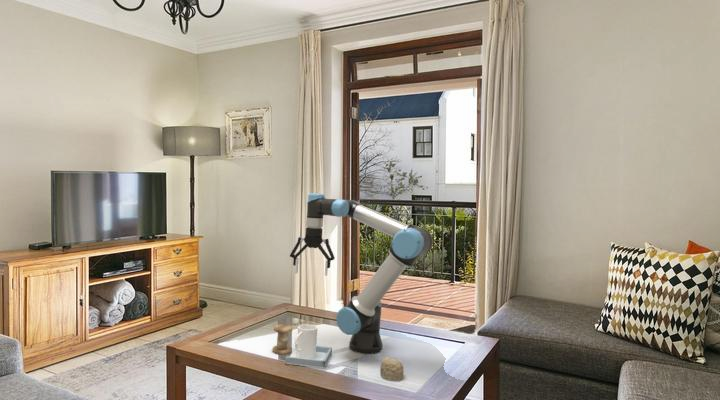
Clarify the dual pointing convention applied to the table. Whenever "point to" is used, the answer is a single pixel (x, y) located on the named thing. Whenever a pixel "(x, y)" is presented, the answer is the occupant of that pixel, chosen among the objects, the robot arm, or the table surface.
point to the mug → (306, 341)
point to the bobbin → (282, 339)
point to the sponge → (391, 369)
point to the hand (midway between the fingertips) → (311, 274)
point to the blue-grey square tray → (317, 362)
